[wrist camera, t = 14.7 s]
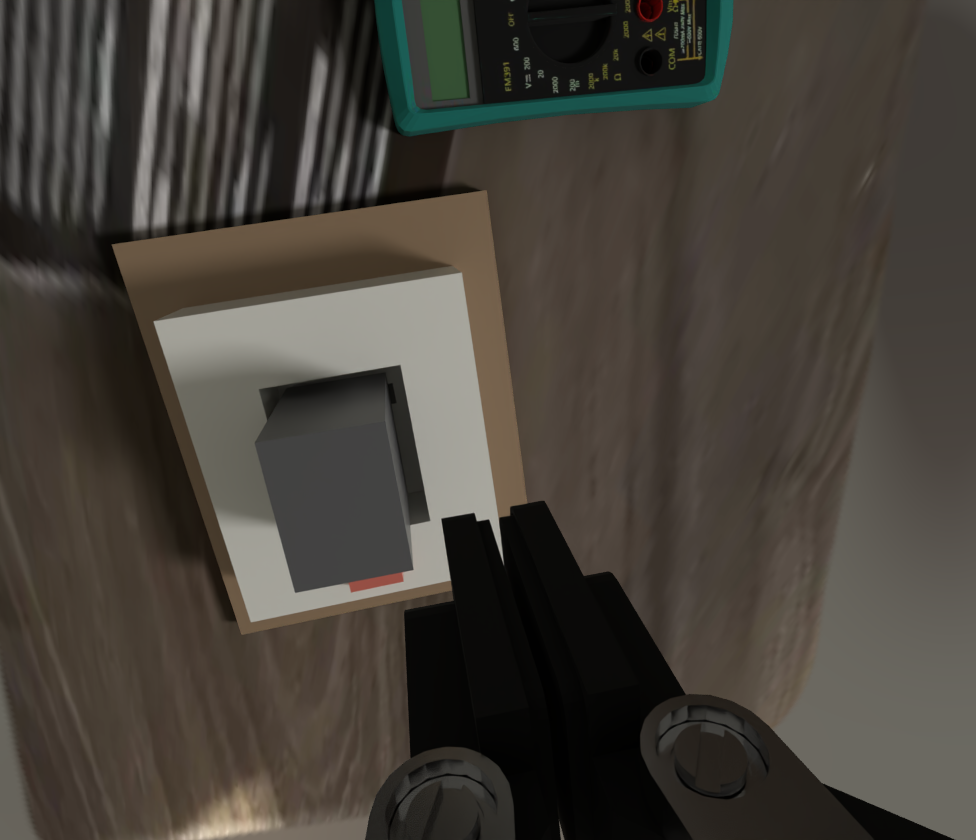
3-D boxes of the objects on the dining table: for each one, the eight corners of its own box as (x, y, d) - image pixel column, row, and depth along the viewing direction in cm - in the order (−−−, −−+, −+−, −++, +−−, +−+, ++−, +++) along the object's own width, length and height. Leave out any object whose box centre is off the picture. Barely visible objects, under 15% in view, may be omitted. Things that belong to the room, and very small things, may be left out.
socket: (121, 243, 26) (61, 249, 22) (483, 191, 28) (503, 185, 23) (245, 622, 33) (221, 693, 28) (532, 562, 35) (555, 619, 30)
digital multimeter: (706, 108, 29) (740, 96, 26) (393, 140, 27) (394, 131, 25) (707, -79, 27) (744, -114, 24) (363, -57, 25) (361, -91, 22)
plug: (290, 381, 28) (254, 442, 21) (385, 366, 29) (385, 421, 21) (318, 497, 30) (295, 593, 23) (406, 481, 31) (413, 570, 23)
